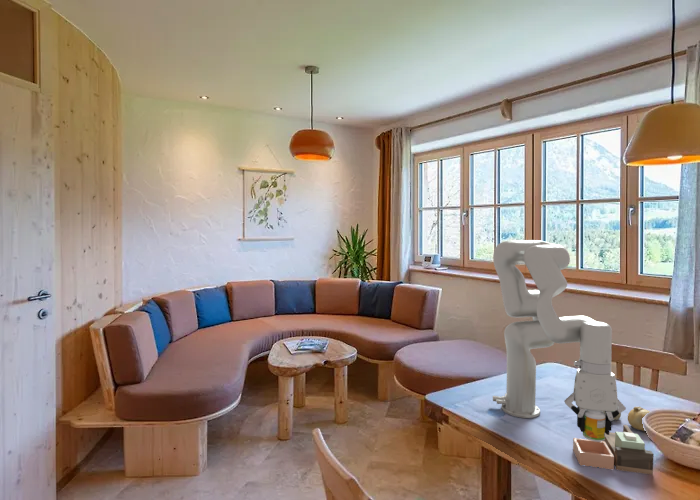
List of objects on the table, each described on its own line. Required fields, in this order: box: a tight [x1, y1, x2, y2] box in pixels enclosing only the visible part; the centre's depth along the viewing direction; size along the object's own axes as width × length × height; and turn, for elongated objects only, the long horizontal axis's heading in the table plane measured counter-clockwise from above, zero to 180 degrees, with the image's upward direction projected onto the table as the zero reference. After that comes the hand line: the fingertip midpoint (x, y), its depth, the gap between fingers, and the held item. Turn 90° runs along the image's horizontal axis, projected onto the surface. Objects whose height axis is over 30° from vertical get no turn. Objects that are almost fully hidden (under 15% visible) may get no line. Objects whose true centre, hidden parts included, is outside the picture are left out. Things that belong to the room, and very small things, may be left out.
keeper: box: [614, 431, 646, 450], centre depth 118 cm, size 5×5×7 cm
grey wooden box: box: [604, 424, 654, 476], centre depth 123 cm, size 20×8×6 cm, turn 164°
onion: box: [627, 406, 651, 432], centre depth 137 cm, size 8×8×7 cm
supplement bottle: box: [582, 409, 606, 442], centre depth 119 cm, size 5×5×10 cm
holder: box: [572, 437, 615, 471], centre depth 120 cm, size 8×8×4 cm
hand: (593, 430), depth 119 cm, fingers closed on supplement bottle, 5 cm apart
